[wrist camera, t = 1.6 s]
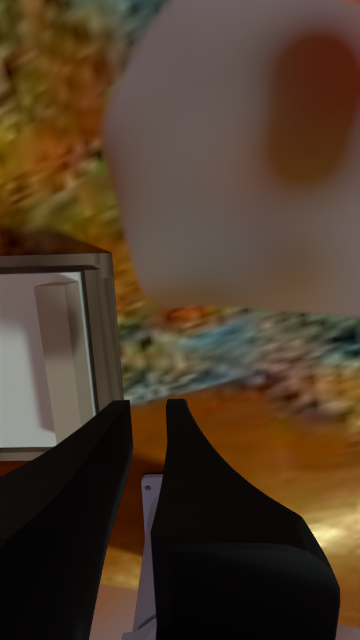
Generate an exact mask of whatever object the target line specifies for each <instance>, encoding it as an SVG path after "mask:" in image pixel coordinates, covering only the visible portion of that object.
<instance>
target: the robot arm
mask: <svg viewBox="0 0 360 640" xmlns="http://www.w3.org/2000/svg"><path fill="white" fill-rule="evenodd" d="M166 422H167V451H166V458H165V465H164V471H163V474H147V475H144V476H143V477H142V481H141V487H142V501H143V515H144V529H145V544H144V551H143V558H142V566H141V573H140V581H139V588H138V595H137V603H136V610H135V618H134V625H133V632H129V633H124V634H123V636H122V640H335V638H336V630H337V624H338V616H339V609H340V587H339V585H338V582H337V580H336V578H335V575H334V573H333V570H332V568H331V566H330V564H329V562H328V560H327V558H326V556H325V554H324V552H323V550H322V549H321V547H320V545H319V544H318V542H317V540H316V538H315V537H314V535H313V534H312V532H311V530H310V529H309V527H308V526H307V524H306V522H305V521H304V519H303V518H302V517H301V516H300V515H298V514H297V513H295V512H293V511H292V510H290V509H288V508H287V507H285V506H283V505H281V504H280V503H278V502H276V501H275V500H273V499H271V498H270V497H268V496H267V495H265V494H264V493H263V492H261V491H260V490H259V489H257V488H256V487H254V486H253V485H252V484H250V483H249V482H248V481H247V480H245V479H244V478H243V477H242V476H241V475H240V474H238V473H237V472H236V471H235V470H234V469H233V468H232V467H231V466H230V465H229V464H228V463H227V462H226V461H225V460H224V459H223V458H222V457H221V456H220V455H219V454H218V453H217V451H216V450H215V449H214V448H213V447H212V445H211V444H210V443H209V441H208V440H207V439H206V437H205V436H204V435H203V433H202V432H201V430H200V428H199V427H198V425H197V423H196V422H195V420H194V418H193V416H192V414H191V412H190V410H189V408H188V405H187V401H186V400H185V399H168V400H167V404H166ZM132 452H133V437H132V425H131V412H130V400H113V401H112V402H111V403H109V404H108V405H107V406H106V407H105V408H103V409H102V410H101V411H100V412H99V413H97V414H96V415H95V416H94V417H93V418H91V419H90V420H89V421H88V422H86V423H85V424H84V425H83V426H82V427H80V428H79V429H78V430H76V431H75V432H73V433H72V434H71V435H69V436H68V437H67V438H65V439H64V440H63V441H61V442H60V443H59V444H57V445H56V446H54V447H53V448H51V449H50V450H48V451H46V452H45V453H43V454H41V455H40V456H38V457H37V458H35V459H33V460H32V461H30V462H28V463H26V464H24V465H23V466H21V467H19V468H17V469H15V470H13V471H11V472H9V473H7V474H5V475H3V476H2V477H0V640H89V636H90V631H91V625H92V620H93V615H94V609H95V604H96V599H97V594H98V588H99V584H100V579H101V574H102V569H103V564H104V560H105V555H106V550H107V546H108V542H109V538H110V535H111V531H112V528H113V525H114V521H115V518H116V515H117V511H118V508H119V505H120V501H121V498H122V495H123V491H124V488H125V485H126V481H127V478H128V474H129V470H130V464H131V458H132ZM147 485H148V486H150V487H146V486H147Z"/></svg>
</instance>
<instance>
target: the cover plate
mask: <svg viewBox="0 0 360 640" xmlns="http://www.w3.org/2000/svg"><path fill="white" fill-rule="evenodd" d="M97 413H98V403H97V394H96V384H95V375H94V365H93V356H92V346H91V337H90V327H89V318H88V308H87V298H86V289H85V279H84V271H74V272H40V273H6V274H0V448H2V447H54V446H56V445H57V444H59V443H60V442H61V441H63V440H64V439H65V438H67V437H68V436H69V435H71V434H72V433H73V432H75V431H76V430H78V429H79V428H80V427H82V426H83V425H84V424H85V423H86V422H88V421H89V420H90V419H91V418H93V417H94V416H95V415H96V414H97Z"/></svg>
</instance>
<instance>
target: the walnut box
mask: <svg viewBox="0 0 360 640" xmlns="http://www.w3.org/2000/svg"><path fill="white" fill-rule="evenodd" d="M74 271H84V279H85V289H86V298H87V308H88V318H89V327H90V337H91V346H92V356H93V365H94V375H95V384H96V394H97V403H98V413H99V412H100V411H101V410H102V409H103V408H105V407H106V406H107V405H108V404H109V403H111V402H112V401H113V400H124V398H123V386H122V373H121V361H120V349H119V337H118V324H117V312H116V300H115V288H114V276H113V263H112V253H87V254H54V255H21V256H0V274H6V273H40V272H74ZM51 448H53V447H2V448H0V461H26V460H33V459H35V458H37V457H38V456H40V455H41V454H43V453H45V452H46V451H48V450H50V449H51Z"/></svg>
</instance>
